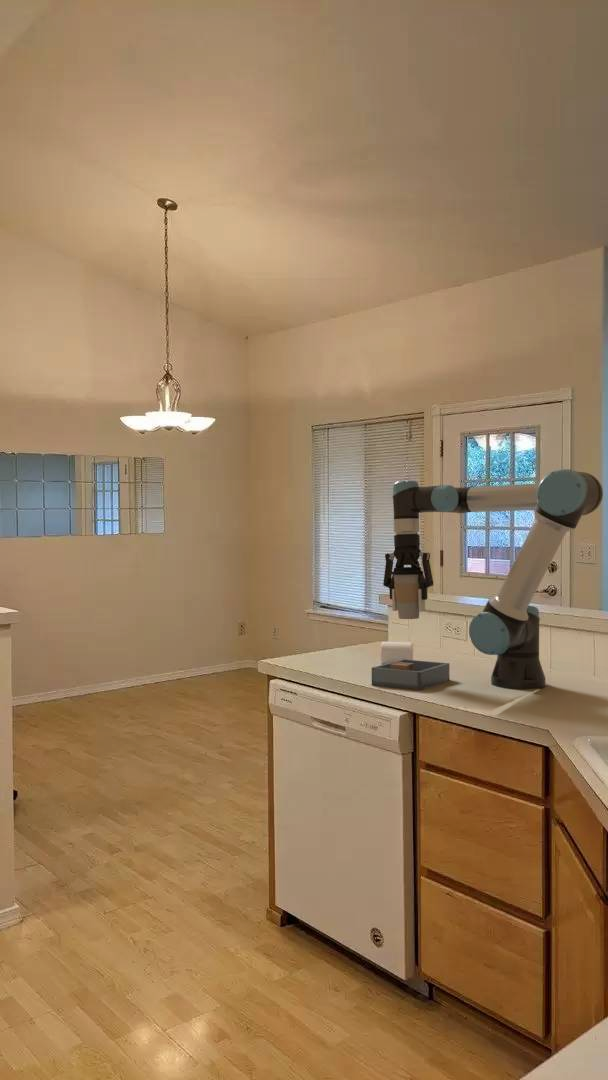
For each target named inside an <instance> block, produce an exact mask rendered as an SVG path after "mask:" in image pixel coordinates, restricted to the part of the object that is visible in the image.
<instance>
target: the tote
mask: <svg viewBox="0 0 608 1080" xmlns="http://www.w3.org/2000/svg"><path fill="white" fill-rule="evenodd" d="M397 662H404V663H414V671H407V670H397V669H391V664H393V663H397ZM449 680H450V663H448V662H439V661H430V660H429V661H427V660H416V659H415V660H414V659H413V660H406V659H403V660H399V661H395V662H391V663H387V664H380V665H375V666H373V667H371V686H377V687H387V688H395V689H396V688H397V689H406V690H414V691H422V690H424V689H427V688H431V687H433V686H436V685H440V684H442V683H445V682H447V681H449Z"/></svg>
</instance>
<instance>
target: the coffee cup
mask: <svg viewBox="0 0 608 1080" xmlns="http://www.w3.org/2000/svg"><path fill="white" fill-rule="evenodd" d="M417 570H418V571H417ZM418 574H423V575H424V570H422V567H421V566H420V567H411V566H404V567H403V568H395V567H393V570H392V574H391V575H394V583H395V584H394V587H395V595H396V602H397V607H398V610H397V613H398V614H397V615H398V619H400V620H415V619H416V620H417V619H419V618H420V611H419V599H418V589H420V584H419V582H418Z"/></svg>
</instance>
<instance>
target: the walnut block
mask: <svg viewBox="0 0 608 1080" xmlns="http://www.w3.org/2000/svg"><path fill="white" fill-rule="evenodd" d="M391 669H397V670H407V671H414V663H404V662H397V663H393V664H391Z"/></svg>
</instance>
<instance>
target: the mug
mask: <svg viewBox="0 0 608 1080" xmlns="http://www.w3.org/2000/svg"><path fill="white" fill-rule="evenodd" d="M403 659H406V660H414V643H413V642H411V641H407V642H406V641H382V642H381V644H380V665H383V664H387V663H391V662H395V661H399V660H403Z"/></svg>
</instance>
